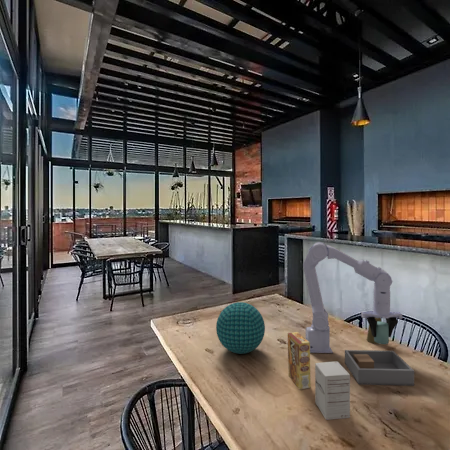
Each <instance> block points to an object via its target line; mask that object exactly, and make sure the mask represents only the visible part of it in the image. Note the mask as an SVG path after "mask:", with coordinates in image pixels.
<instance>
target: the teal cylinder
mask: <svg viewBox="0 0 450 450" xmlns="http://www.w3.org/2000/svg"><path fill="white" fill-rule="evenodd" d="M389 338H390V337H389V324H387V323H386V321H385V322H384V321H381V322H380V321H377V326H376V337H374V341H375V342H376V343H379V344H378V345H388V344H389V341H390V339H389Z"/></svg>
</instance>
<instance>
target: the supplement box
mask: <svg viewBox="0 0 450 450" xmlns="http://www.w3.org/2000/svg"><path fill="white" fill-rule="evenodd" d="M314 365H315V367H314V369H315V370H314V371H315V372H314V373H315V375H314V377H315V378H314V379H315V380H314V381H315V382H314V385H315V389H314V395H315V396H314V397H315V399H314V400H315V403H314V404H316V406H317V407H318V409H319V411H320V412H321V414H322V416H323V417H324V420H328V421H329V420H339V419H340V420H341V419H349V418H350V417H351V375H350V373H349V371H347V370H346V369H345V367H344V366H342V365H341V363H340V362H339V361H325V362H316V363H314Z"/></svg>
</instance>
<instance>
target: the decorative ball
mask: <svg viewBox="0 0 450 450" xmlns="http://www.w3.org/2000/svg"><path fill="white" fill-rule="evenodd" d="M265 324H266V323H265V319H264V318H263V315H262V314H261V312H260V311H259V310H258V308H257V307H256V306H253V305H252V304H250V303H247V302H244V301H243V302H241V301H239V302H238V301H237V302H234V303H230V304H229V305H226V306H225V307H224V308H223V309H222V310H221V312H220V313H219V315H218V316H217V320H216V325H215V327H216V328H215V330H216V336H217V338H218V341H219V342H220V344H221V345H222V346H223V348H225V349H226V350H227V351H229V352H231V353H234V354H239V355H240V354H241V355H243V354H248V353H250V352H253V351H254V350H255V349H257V348H258V347H259V346H260V345H261V343H262V341H263V339H264V336H265V333H266V325H265Z"/></svg>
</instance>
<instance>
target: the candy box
mask: <svg viewBox="0 0 450 450" xmlns="http://www.w3.org/2000/svg"><path fill="white" fill-rule="evenodd" d="M287 361H288V363H287V364H288V377H289V378H290V379H291V380H292V382H293V383H294V384H295V386H296V387H297V388H298V390H305V389H311V387H312V386H311V384H312V383H311V353H310V342H309V341H308V340H306V337H305V336H303V335H302V334H301V333H300V332H299V331H295V332H288V333H287Z"/></svg>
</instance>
